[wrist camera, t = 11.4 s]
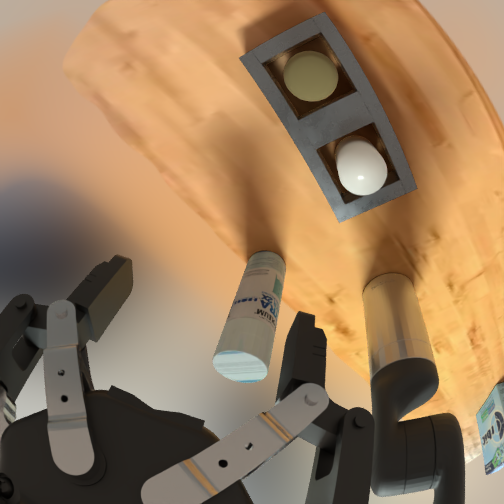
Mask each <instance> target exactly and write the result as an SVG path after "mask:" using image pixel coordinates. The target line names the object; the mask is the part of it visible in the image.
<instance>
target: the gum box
mask: <svg viewBox="0 0 504 504" xmlns="http://www.w3.org/2000/svg"><path fill="white" fill-rule="evenodd" d="M476 418H477V423H478V428H479V433H480V438H481V444H482V450H483V456H484V463H485V471H486V475H488V474H491V473H493V472H496V471H498V470H500V469H501V468H502V467H503V466H504V382H502V383H499V384H496V386H495V388H494V389H493V391H492V392H491V394H490V395H489V397H488V399H487V400H486V402H485V403H484V405H483V406H482V408H481V409H480V410H479V412H478V413H477V414H476Z"/></svg>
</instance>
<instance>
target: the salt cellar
mask: <svg viewBox="0 0 504 504" xmlns="http://www.w3.org/2000/svg"><path fill="white" fill-rule="evenodd" d="M335 161H336V165H337V170H338V174H339V178H340V181H341V183H342V185H343V186H344V187H345V188H346V189H347V190H348V191H350V192H351V193H354V194H357V195H369V194H372V193H374V192H376V191H378V190H379V189H380V188H381V187H382V186H383V184H384V182H385V180H386V177H387V167H386V163H385V161H384V159H383V158H382V156H381V155H380V154H379V152H378V151H377V150H376V149H375V147H374V146H373V145H372V143H371V142H370V141H369V140H367V139H366V138H364V137H361V136H355V135H354V136H348V137H346V138H344V139H343V140H341V141H340V142H339V144H338V145H337V147H336V150H335Z"/></svg>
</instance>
